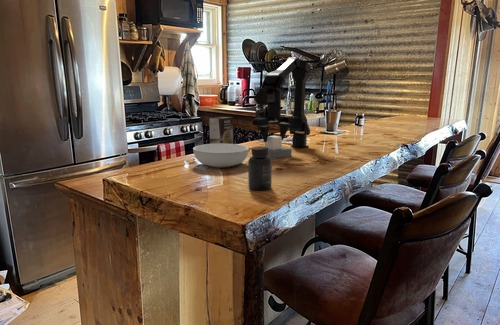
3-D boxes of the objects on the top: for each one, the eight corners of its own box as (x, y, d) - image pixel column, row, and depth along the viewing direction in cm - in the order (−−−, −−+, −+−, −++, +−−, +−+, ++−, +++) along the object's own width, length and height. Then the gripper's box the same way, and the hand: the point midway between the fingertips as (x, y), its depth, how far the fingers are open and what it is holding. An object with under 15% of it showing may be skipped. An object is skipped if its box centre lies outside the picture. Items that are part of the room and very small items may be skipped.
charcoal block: (274, 153, 163) (274, 145, 163) (291, 156, 155) (291, 148, 154) (255, 156, 157) (255, 148, 156) (272, 160, 148) (272, 151, 147)
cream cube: (274, 146, 158) (273, 135, 157) (281, 148, 154) (281, 136, 153) (265, 148, 155) (264, 136, 154) (272, 150, 151) (272, 138, 150)
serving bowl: (242, 172, 125) (242, 153, 124) (185, 170, 129) (184, 151, 128) (253, 160, 145) (253, 143, 144) (204, 158, 149) (203, 142, 148)
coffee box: (221, 156, 153) (220, 118, 150) (209, 155, 156) (208, 117, 153) (233, 153, 161) (233, 116, 157) (222, 151, 164) (221, 116, 160)
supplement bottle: (271, 184, 110) (271, 146, 108) (271, 191, 104) (272, 150, 101) (248, 184, 111) (248, 146, 108) (247, 191, 104) (247, 150, 101)
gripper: (277, 102, 163) (277, 137, 166) (244, 104, 152) (244, 140, 155) (295, 103, 154) (294, 139, 157) (261, 105, 143) (261, 144, 146)
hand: (273, 141), depth 154 cm, fingers open, 9 cm apart
